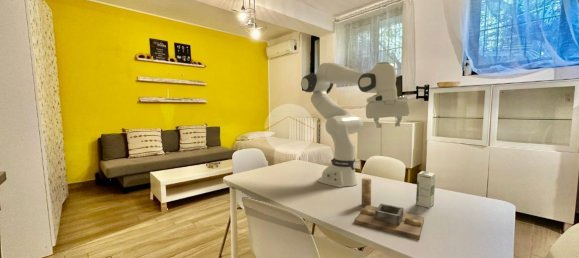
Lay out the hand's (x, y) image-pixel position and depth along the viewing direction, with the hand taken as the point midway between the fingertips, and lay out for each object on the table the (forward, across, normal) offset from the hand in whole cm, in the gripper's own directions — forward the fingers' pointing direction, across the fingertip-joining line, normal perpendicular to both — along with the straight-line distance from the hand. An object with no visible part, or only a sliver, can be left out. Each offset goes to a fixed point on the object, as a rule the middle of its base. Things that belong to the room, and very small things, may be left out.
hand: (388, 127), depth 114 cm
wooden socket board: (+35, +14, +19) cm, 42 cm away
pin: (+34, +15, +3) cm, 37 cm away
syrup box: (+36, -11, +8) cm, 38 cm away
